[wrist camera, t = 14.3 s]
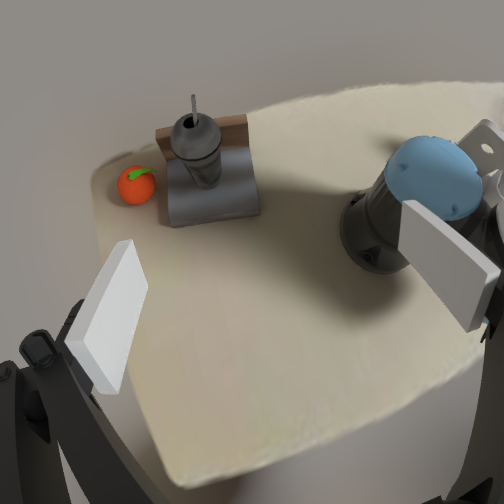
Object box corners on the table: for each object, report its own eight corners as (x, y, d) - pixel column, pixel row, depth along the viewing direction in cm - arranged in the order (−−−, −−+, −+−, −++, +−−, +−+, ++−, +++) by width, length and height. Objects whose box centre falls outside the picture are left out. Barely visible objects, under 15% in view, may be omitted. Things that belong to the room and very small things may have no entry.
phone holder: (502, 188, 54) (547, 152, 36) (492, 217, 52) (544, 183, 34) (451, 139, 57) (488, 92, 39) (437, 164, 55) (479, 115, 38)
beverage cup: (182, 170, 52) (147, 93, 33) (220, 154, 53) (202, 71, 34) (195, 204, 50) (161, 132, 31) (236, 187, 51) (223, 107, 32)
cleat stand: (170, 160, 56) (155, 129, 47) (248, 147, 56) (246, 113, 47) (173, 228, 53) (155, 205, 43) (259, 214, 53) (259, 188, 43)
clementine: (158, 169, 56) (147, 148, 49) (170, 197, 54) (158, 179, 47) (122, 187, 55) (106, 170, 48) (131, 217, 54) (115, 201, 47)
